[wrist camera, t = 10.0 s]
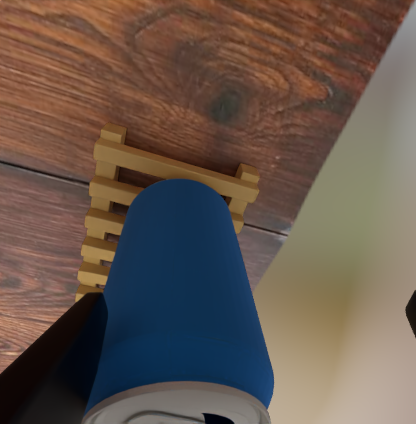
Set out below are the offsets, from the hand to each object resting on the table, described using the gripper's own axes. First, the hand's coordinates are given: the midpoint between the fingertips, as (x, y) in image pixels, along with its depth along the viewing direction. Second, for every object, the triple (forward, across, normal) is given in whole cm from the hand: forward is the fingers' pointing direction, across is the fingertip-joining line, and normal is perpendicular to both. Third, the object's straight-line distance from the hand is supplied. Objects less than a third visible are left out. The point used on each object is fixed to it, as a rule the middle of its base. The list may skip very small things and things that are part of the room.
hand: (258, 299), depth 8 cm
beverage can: (+10, +3, +4) cm, 11 cm away
